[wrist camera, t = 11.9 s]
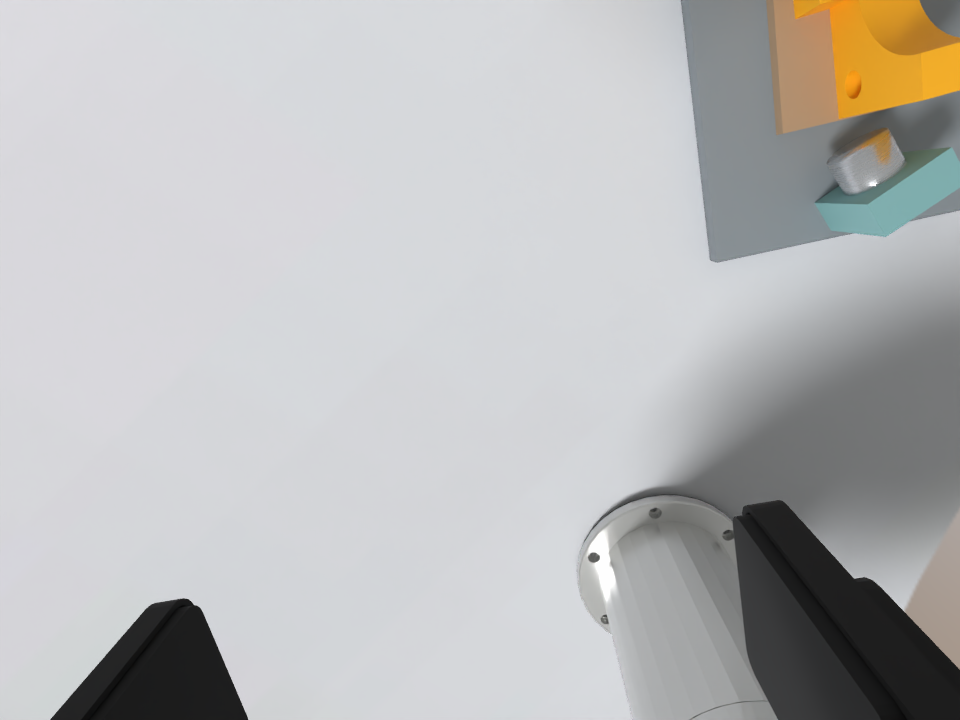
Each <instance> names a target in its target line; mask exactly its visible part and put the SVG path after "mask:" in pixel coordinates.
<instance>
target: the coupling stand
mask: <svg viewBox="0 0 960 720" xmlns="http://www.w3.org/2000/svg"><path fill="white" fill-rule="evenodd" d="M919 1H920V3H921V6H922V8H923V10H924V12H925V13H926V15H927V16H928V18H929V19H930V21H931V22H932V23H933V24H934V25H935V26H936V27H937V28H939V29H940V30H941V31H943V32H945V33H946V34H949V35H951V36H955V37H959V38H960V0H919ZM681 4H682V13H683V22H684V30H685V39H686V48H687V57H688V66H689V75H690V84H691V93H692V102H693V111H694V120H695V129H696V137H697V146H698V155H699V164H700V173H701V182H702V191H703V200H704V209H705V218H706V227H707V236H708V245H709V253H710V260H711V261H714V262H717V263H718V262H722V261H727V260H731V259H736V258H741V257H745V256H750V255H755V254H759V253H764V252H769V251H773V250H778V249H783V248H787V247H792V246H797V245H801V244H806V243H810V242H815V241H820V240H824V239H829V238H834V237H838V236H843V235H848V234H852V233H857V234H866V235H874V236H883V237H886V236H888V235H889V234H891V233H892V232H894V231H895V230H897V229H898V228H900V227H901V226H903V225H904V224H906V223H907V222H909V221H913V220H917V219H922V218H927V217H931V216H936V215H941V214H945V213H950V212H954V211H959V210H960V90H959V91H955V92H952V93H948V94H945V95H941V96H937V97H934V98H930V99H926V100H923V101H918V102H914V103H909V104H905V105H900V106H896V107H891V108H887V109H882V110H877V111H873V112H868V113H864V114H859V115H855V116H850V117H846V118H841V119H839V114H838V103H837V91H836V79H835V67H834V56H833V44H832V32H831V21H830V9H828V10H825V11H821V12H818V13H814V14H811V15H808V16H804V17H801V18H798V19H795V13H794V3H793V0H681ZM881 128H888V129H889V130H890V132H891V134H892V136H893V138H894V140H895V141H896V143H897V145H898V147H899V149H900V150H901V152H902V154H903V156H904V158H905V160H906V161H907V163H906V165H905V167H904V168H903V169H902V170H901V171H900V172H899V173H897V174H896V175H895V176H893V177H892V178H890V179H889V180H887V181H886V182H884V183H882V184H880V185H878V186H876V187H874V188H872V189H870V190H868V191H865V192H862V193H859V194H856V195H849V196H848V195H845V194H844V193H843V191H842V189H841V188H840V186H839V184H838V183H837V181H836V179H835V177H834V176H833V174H832V172H831V171H830V169H829V167H828V165H827V164H826V163H827V160H828V159H829V158H830V157H831V156H832V155H833V154H834V153H835V152H837V151H838V150H839V149H841V148H842V147H844V146H845V145H847V144H848V143H850V142H852V141H853V140H855V139H857V138H859V137H861V136H863V135H865V134H867V133H869V132H872V131H874V130H877V129H881Z"/></svg>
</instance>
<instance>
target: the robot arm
mask: <svg viewBox="0 0 960 720" xmlns="http://www.w3.org/2000/svg"><path fill="white" fill-rule="evenodd" d="M652 508H653V509H652ZM742 515H743V516H737V517H734V518H733V521H732V520H731V519H730V518H729V517H728V516H727V515H726V514H725V513H723V512H721V511H720V510H718V509H717V508H715V507H714V506H712V505H710V504H708V503H705V502H703V501H700V500H698V499H694V498H689V497H684V496H673V495H661V496H653V497H646V498H643V499H640V500H636V501H633V502H630V503H628V504H626V505H624V506H622V507H620V508H618V509H616V510H614V511H613V512H612V513H610V514H609V515H607V516H606V517H605V518H603V519H602V520H601V521H600V522H599V523H598V524H597V525H596V527H595V528H594V529H593V530H592V531H591V532H590V534H589V536H588V537H587V539H586V540H585V542H584V544H583V546H582V549H581V552H580V555H579V558H578V565H577V578H578V586H579V590H580V595H581V599H582V601H583V603H584V605H585V607H586V609H587V611H588V613H589V614H590V615H591V616H592V618H593V619H594V620H595V622H596V623H598V624H599V625H600V626H601V627H602V628H603V629H604V630H605V631H607V632H608V633H610V634H612V638H613V642H614V646H615V650H616V654H617V658H618V662H619V666H620V671H621V675H622V679H623V683H624V687H625V691H626V695H627V699H628V703H629V707H630V711H631V716H632V720H960V670H959V669H958V667H956V665H955V664H954V663H953V662H951V660H950V659H949V658H948V657H947V656H946V655H945V654H944V653H943V652H942V651H941V650H940V649H939V648H938V647H937V646H936V645H935V643H934V642H933V641H932V640H931V639H930V638H929V637H928V636H927V635H926V634H925V633H924V632H923V631H922V630H921V629H920V628H919V627H918V626H917V625H916V624H915V623H914V622H913V620H912V619H911V618H910V617H908V615H907V614H906V613H905V612H904V611H903V610H902V609H901V608H900V607H899V606H898V605H897V604H896V603H895V602H894V601H893V600H892V599H891V598H890V596H889V595H888V594H887V593H886V592H885V591H884V590H883V589H882V588H881V587H880V586H879V585H877V584H876V583H875V582H874V581H873V580H870V579H868V578H865V577H863V578H857V579H854V578H853V577H852V576H851V575H850V574H849V573H848V572H847V570H846V569H845V568H844V567H843V566H842V565H841V564H840V563H839V562H838V561H837V559H836V558H835V557H834V556H833V555H832V554H831V553H830V552H829V551H828V550H827V549H826V547H825V546H824V545H823V544H822V543H821V542H820V541H819V540H818V539H817V538H816V536H815V535H814V534H813V533H812V532H811V531H810V530H809V529H808V528H807V527H806V525H805V524H804V523H803V522H802V521H801V520H800V519H799V518H798V517H797V516H796V514H795V513H794V512H793V511H792V510H791V509H790V508H789V507H788V506H787V505H786V504H785V503H784V502H783V501H781V500H777V501H771V502H765V503H759V504H753V505H747V506H744V507H743V511H742ZM50 720H248V717H247V715H246V713H245V710H244V708H243V706H242V703H241V701H240V698H239V696H238V694H237V691H236V689H235V687H234V684H233V682H232V680H231V677H230V675H229V673H228V670H227V668H226V666H225V663H224V661H223V659H222V656H221V654H220V652H219V649H218V647H217V645H216V642H215V640H214V638H213V635H212V633H211V631H210V628H209V626H208V623H207V621H206V619H205V616H204V614H203V612H202V610H201V609H200V608H199V607H198V606H195V605H193V603H192V602H191V601H190V600H188V599H177V600H171V601H165V602H159V603H155V604H152V605H150V606H149V607H148V608H147V609H146V610H145V611H144V612H143V613H142V614H141V615H140V617H139V618H138V619H137V620H136V621H135V622H134V623H133V625H132V626H131V627H130V628H129V629H128V630H127V632H126V633H125V634H124V635H123V636H122V637H121V638H120V640H119V641H118V642H117V643H116V644H115V645H114V647H113V648H112V649H111V650H110V651H109V652H108V654H107V655H106V656H105V657H104V658H103V659H102V660H101V662H100V663H99V664H98V665H97V666H96V667H95V669H94V670H93V671H92V672H91V673H90V674H89V675H88V677H87V678H86V679H85V680H84V681H83V682H82V684H81V685H80V686H79V687H78V688H77V689H76V691H75V692H74V693H73V694H72V695H71V696H70V697H69V699H68V700H67V701H66V702H65V703H64V704H63V706H62V707H61V708H60V709H59V710H58V711H57V712H56V714H55V715H54V716H53V717H52V718H51V719H50Z"/></svg>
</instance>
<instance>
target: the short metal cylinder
mask: <svg viewBox="0 0 960 720" xmlns="http://www.w3.org/2000/svg"><path fill="white" fill-rule="evenodd" d="M906 163H907V161H906V160H905V158H904V156H903V154H902V152H901V150H900V149H899V147H898V145H897V143H896V141H895V140H894V138H893V136H892V134H891V132H890V130H889V129H888V128H881V129H877V130H874V131H872V132H869V133H867V134H865V135H863V136H861V137H859V138H857V139H855V140H853V141H852V142H850V143H848V144H847V145H845V146H844V147H842V148H841V149H839V150H838V151H837V152H835V153H834V154H833V155H832V156H831V157H830V158H829V159H828V160H827V163H826V164H827V165H828V167H829V169H830V171H831V172H832V174H833V176H834V177H835V179H836V181H837V183H838V184H839V186H840V188H841V189H842V191H843V193H844V194H845V195H848V196H849V195H856V194H859V193H862V192H865V191H868V190H870V189H872V188H874V187H876V186H878V185H880V184H882V183H884V182H886V181H887V180H889V179H890V178H892V177H893V176H895V175H896V174H897V173H899V172H900V171H901V170H902V169H903V168H904V167H905V165H906Z"/></svg>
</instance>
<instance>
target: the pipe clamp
mask: <svg viewBox="0 0 960 720" xmlns="http://www.w3.org/2000/svg"><path fill="white" fill-rule="evenodd" d="M793 3H794V13H795V19H798V18H801V17H804V16H808V15H811V14H814V13H818V12H821V11H825V10H828V9H830V21H831V32H832V44H833V56H834V67H835V79H836V91H837V103H838V114H839V119H841V118H846V117H850V116H855V115H859V114H864V113H868V112H873V111H877V110H882V109H887V108H891V107H896V106H900V105H905V104H909V103H914V102H918V101H923V100H926V99H930V98H934V97H937V96H941V95H945V94H948V93H952V92H955V91H959V90H960V38H959V37H955V36H951V35H949V34H946V33H945V32H943V31H941V30H940V29H939V28H937V27H936V26H935V25H934V24H933V23H932V22H931V21H930V19H929V18H928V16H927V15H926V13H925V12H924V10H923V8H922V6H921V3H920V1H919V0H793Z"/></svg>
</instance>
